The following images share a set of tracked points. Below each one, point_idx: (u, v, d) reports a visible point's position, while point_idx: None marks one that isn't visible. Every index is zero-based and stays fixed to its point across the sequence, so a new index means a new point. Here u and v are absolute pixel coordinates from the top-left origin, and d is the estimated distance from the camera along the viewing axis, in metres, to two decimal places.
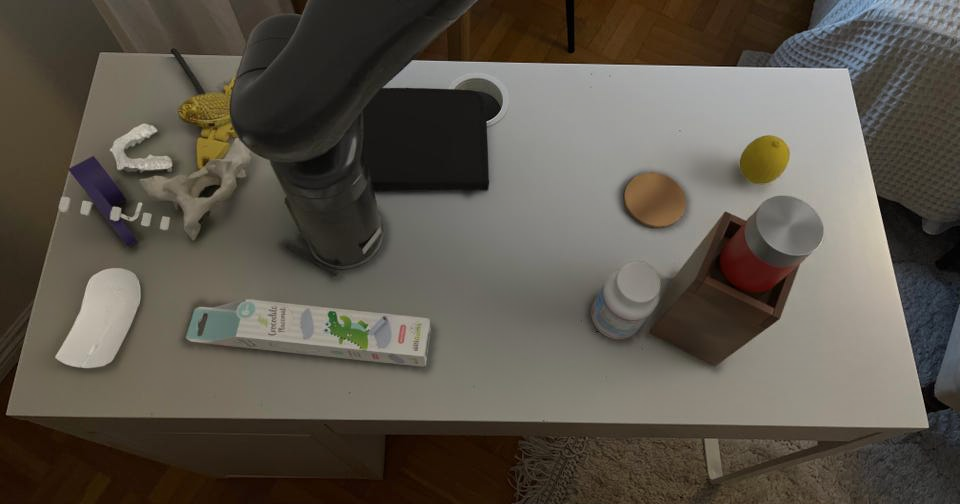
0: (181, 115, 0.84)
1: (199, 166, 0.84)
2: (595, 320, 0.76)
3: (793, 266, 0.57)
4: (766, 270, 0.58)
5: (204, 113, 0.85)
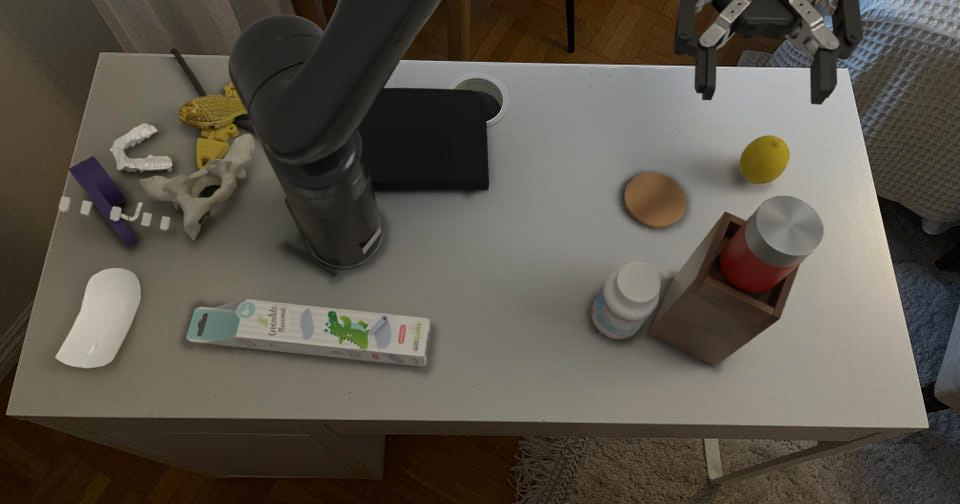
0: (181, 118, 0.84)
1: (199, 166, 0.84)
2: (595, 320, 0.76)
3: (793, 266, 0.57)
4: (766, 270, 0.58)
5: (204, 115, 0.85)
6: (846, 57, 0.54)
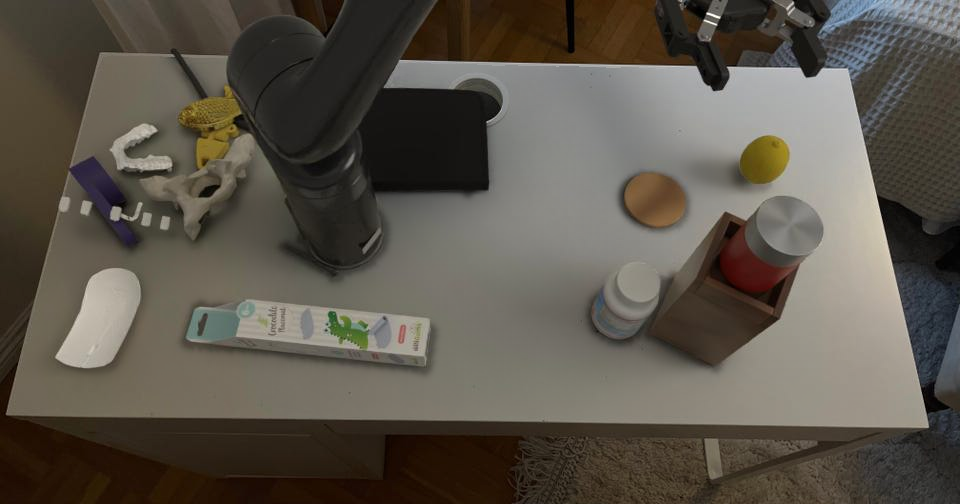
0: (181, 121, 0.85)
1: (199, 166, 0.84)
2: (595, 320, 0.76)
3: (793, 266, 0.57)
4: (766, 270, 0.58)
5: (203, 118, 0.85)
6: (816, 35, 0.58)
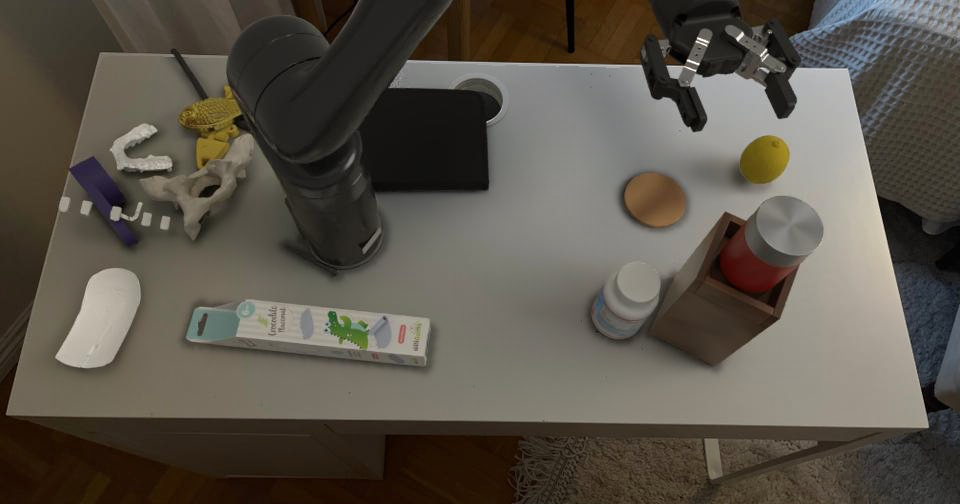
0: (181, 122, 0.85)
1: (199, 166, 0.84)
2: (595, 320, 0.76)
3: (793, 266, 0.57)
4: (766, 270, 0.58)
5: (203, 118, 0.85)
6: (788, 78, 0.63)
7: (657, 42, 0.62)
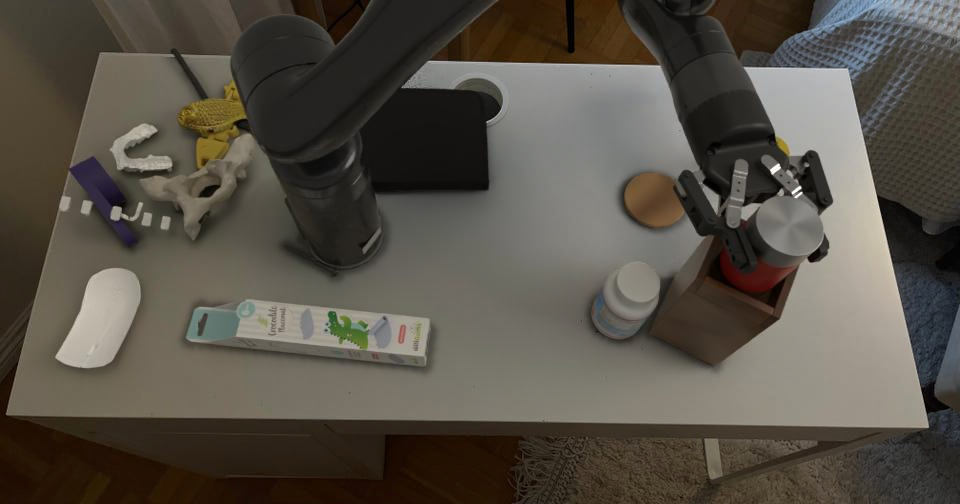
0: (180, 121, 0.84)
1: (199, 166, 0.84)
2: (595, 320, 0.76)
3: (793, 266, 0.57)
4: (766, 270, 0.58)
5: (203, 119, 0.85)
6: None
7: (694, 178, 0.60)
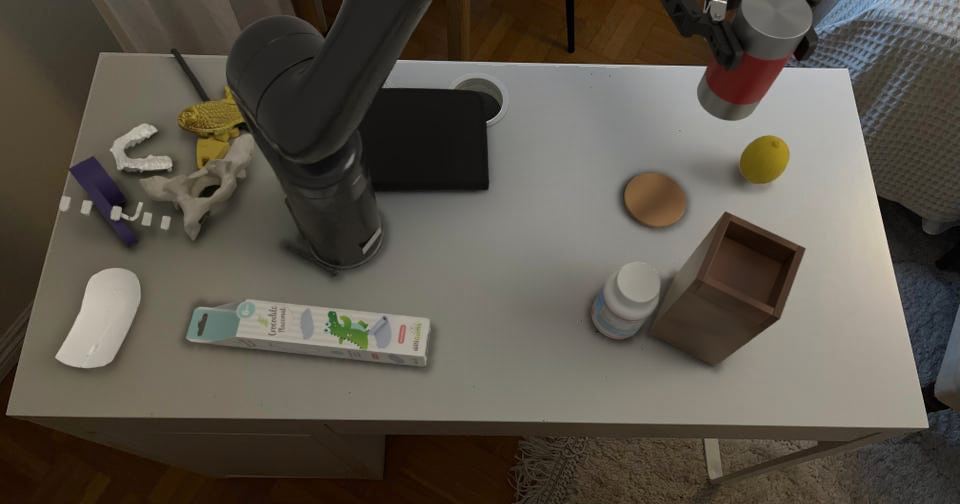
0: (180, 123, 0.84)
1: (199, 166, 0.84)
2: (595, 320, 0.76)
3: (780, 59, 0.54)
4: (752, 66, 0.55)
5: (204, 122, 0.85)
6: None
7: None
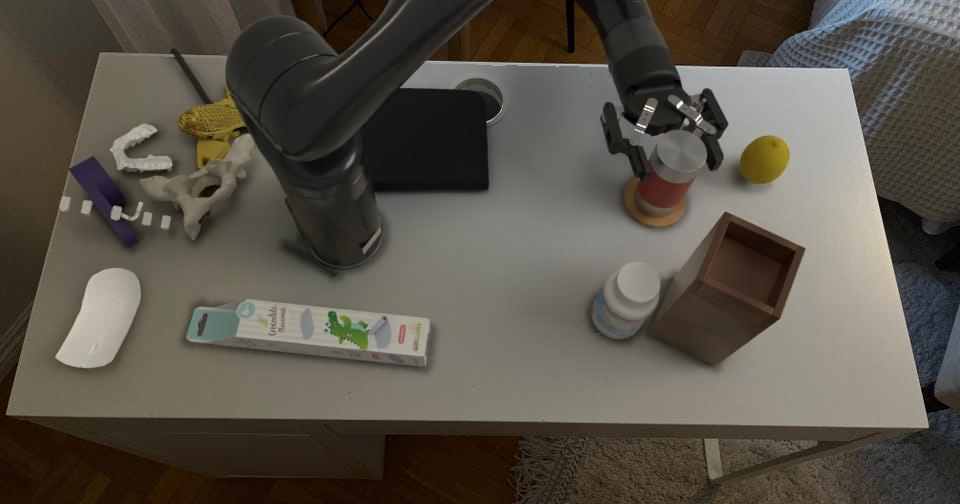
0: (180, 125, 0.84)
1: (199, 166, 0.84)
2: (595, 320, 0.76)
3: (686, 182, 0.76)
4: (667, 187, 0.77)
5: (203, 125, 0.85)
6: (719, 137, 0.79)
7: (613, 108, 0.77)
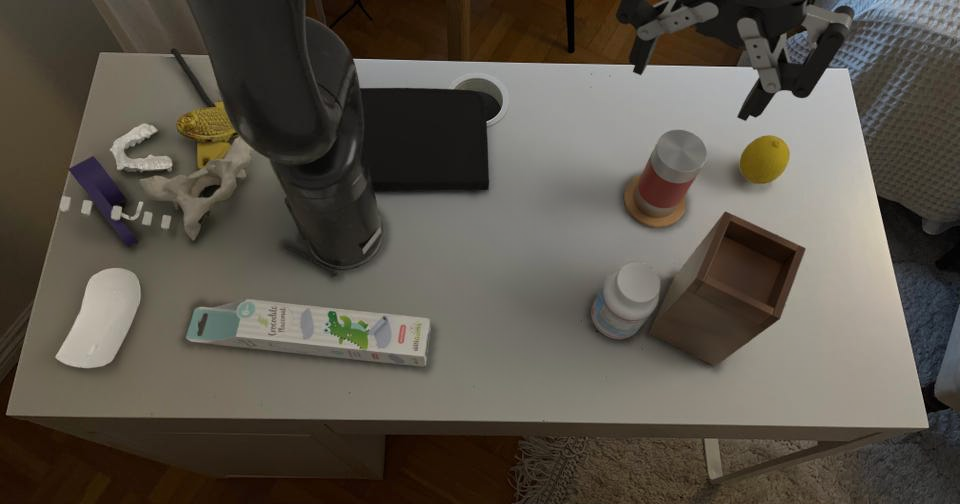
0: (179, 128, 0.84)
1: (199, 166, 0.84)
2: (595, 320, 0.76)
3: (686, 182, 0.76)
4: (667, 187, 0.77)
5: (202, 128, 0.84)
6: None
7: None
